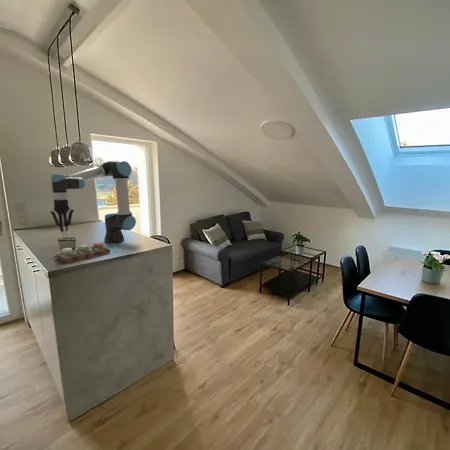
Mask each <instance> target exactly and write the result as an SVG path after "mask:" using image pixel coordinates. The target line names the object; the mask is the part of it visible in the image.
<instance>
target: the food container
mask: <svg viewBox="0 0 450 450" xmlns="http://www.w3.org/2000/svg"><path fill="white" fill-rule="evenodd" d="M76 242H77V239H76V237H75V236H71V237H69V236H67V237H61V238H58V239H57V243H58V245H59V250H60V251H61V250H62V249H64V248H72V250H73V251H74V249H77V248H76Z"/></svg>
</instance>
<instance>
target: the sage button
mask: <svg viewBox="0 0 450 450" xmlns="http://www.w3.org/2000/svg"><path fill="white" fill-rule="evenodd" d="M88 247H89V245H88V244H82V245H78V246H77V249H78V250H79V251H84V250H88Z"/></svg>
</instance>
